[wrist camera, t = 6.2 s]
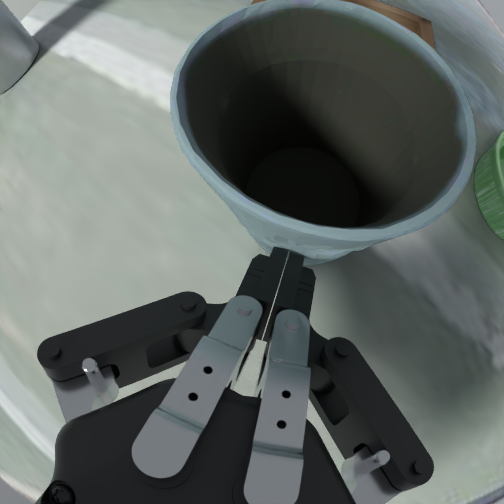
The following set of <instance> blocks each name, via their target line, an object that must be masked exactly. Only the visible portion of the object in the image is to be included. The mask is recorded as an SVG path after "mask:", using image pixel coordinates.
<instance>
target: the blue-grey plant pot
mask: <svg viewBox="0 0 504 504" xmlns="http://www.w3.org/2000/svg"><path fill="white" fill-rule="evenodd" d="M170 105H171V118H172V123H173V127H174V132H175V134H176V137H177V140H178V142H179V145H180V147H181V150H182V152H183V153H184V155H185V156H186V158H187V159H188V161H189V162H190V163H191V165H192V166H193V167H194V168H195V170H196V171H197V172H198V173H199V174H200V176H201V177H202V178H203V179H204V180H205V181H206V182H207V184H208V185H209V186H210V187H211V188H212V189H213V190H214V192H215V193H216V194H217V195H218V196H219V197H220V198H221V199H222V200H223V201H224V202H225V203H226V204H227V206H228V207H229V208H230V209H231V211H232V212H233V213H234V214H235V216H236V217H237V218H238V220H239V221H240V223H241V224H242V225H243V226H244V227H245V228H246V229H247V231H248V232H249V233H250V235H251V236H252V237H253V238H254V239H255V240H256V242H257V243H258V244H259V245H260V246H261V247H262V248H264V249H265V250H266V251H267V252H269V253H270V254H271V252H272V250H273V247H276V248H280V249H283V250H286V251H288V255H287V258H286V262H287V260H288V256H289V253H290V252H293V253H297V254H300V255H303V256H305V258H304V262H303V265H318V264H323V263H328V262H330V261H333V260H336V259H338V258H340V257H343V256H345V255H347V254H348V253H350V252H352V251H359V250H362V249H364V248H366V247H369V246H371V245H374V244H377V243H380V242H383V241H386V240H389V239H392V238H395V237H398V236H401V235H405V234H408V233H411V232H413V231H415V230H418V229H420V228H422V227H424V226H426V225H428V224H430V223H431V222H433V221H435V220H436V219H438V218H439V217H440V216H441V215H443V214H444V213H445V212H446V211H447V210H448V209H449V208H450V207H451V206H452V205H453V204H454V203H455V202H456V200H457V199H458V197H459V196H460V194H461V193H462V191H463V190H464V188H465V187H466V185H467V183H468V181H469V178H470V176H471V173H472V170H473V165H474V160H475V154H476V147H477V143H476V128H475V123H474V118H473V114H472V109H471V107H470V104H469V102H468V99H467V97H466V94H465V92H464V90H463V88H462V86H461V84H460V82H459V81H458V79H457V78H456V76H455V74H454V73H453V71H452V70H451V68H450V67H449V66H448V65H447V64H446V62H445V61H444V60H443V59H442V58H441V57H440V56H439V54H438V53H437V52H436V51H435V50H434V49H433V48H432V47H431V46H430V45H429V44H428V43H426V42H425V41H424V40H423V39H421V38H420V37H419V36H418V35H416V34H415V33H414V32H411V31H410V30H408V29H406V28H405V27H403V26H402V25H400V24H398V23H397V22H395V21H393V20H391V19H390V18H388V17H386V16H384V15H382V14H380V13H378V12H376V11H373V10H371V9H369V8H367V7H364V6H361V5H357V4H354V3H350V2H346V1H340V0H267V1H263V2H259V3H256V4H252V5H249V6H246V7H244V8H241V9H239V10H237V11H234V12H232V13H230V14H228V15H226V16H225V17H223V18H221V19H219V20H218V21H216V22H215V23H214V24H212V25H211V26H210V27H208V28H207V29H206V30H205V31H203V32H202V33H201V34H200V35H199V36H198V37H197V38H196V39H195V40H194V42H193V43H192V44H191V45H190V46H189V48H188V49H187V51H186V52H185V54H184V56H183V57H182V59H181V61H180V63H179V64H178V66H177V68H176V70H175V73H174V78H173V82H172V87H171V92H170Z"/></svg>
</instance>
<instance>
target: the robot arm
mask: <svg viewBox="0 0 504 504" xmlns="http://www.w3.org/2000/svg"><path fill="white" fill-rule="evenodd" d="M38 51H39V44H38V43H37V42H36V41H35V40H34V38H33V37H32V36H31V35H30V34H29V32H28V31H27V30H26V29H25V28H24V26H23V25H22V24H21V23H20V22H19V20H18V19H17V18H16V17H15V16H14V15H13V13H12V12H11V11H10V10H9V9H8V7H7V6H6V5H5V4H4V2H3V1H2V0H0V94H1V93H3V92H4V91H6V90H7V89H9V88H10V87H11V86H12V85H13V84H14V83H16V82H17V81H18V80H19V78H20V77H21V76H22V75H23V74H24V73H25V72H26V71H27V69H28V68H29V67H30V65H31V64H32V62H33V61H34V59H35V58H36V56H37V54H38ZM287 255H288V251H286V250H283V249H280V248H276V247H273V250H272V252H271V255H270V257H268V256H265V255H262V254H259V255H257V256H256V257H255V258H253V259H252V261H251V263H250V265H249V268H248V270H247V272H246V274H245V276H244V279H243V281H242V283H241V285H240V287H239V290H238V292H237V294H236V296H235V297H233V298H232V299H230V300H229V302H227V303H224V304H207V303H206V301H205V299H204V298H203V297H202V296H201V295H199V294H197V293H195V292H189V291H188V292H181V293H178V294H175V295H172V296H169V297H167V298H164V299H161V300H158V301H155V302H152V303H149V304H147V305H144V306H141V307H138V308H135V309H132V310H129V311H126V312H123V313H121V314H118V315H115V316H112V317H109V318H106V319H103V320H100V321H97V322H94V323H91V324H88V325H85V326H82V327H79V328H76V329H74V330H71V331H68V332H65V333H62V334H59V335H56V336H53V337H50V338H47V339H46V340H44V341H43V342H42V343H41V345H40V346H39V348H38V352H37V357H38V360H39V362H40V364H41V365H42V367H43V368H44V370H45V372H46V374H47V376H48V377H49V378H50V380H51V381H52V383H53V385H54V389H55V392H56V395H57V398H58V401H59V404H60V407H61V410H62V413H63V416H64V418H65V421H66V424H65V425H64V426H63V427H62V429H61V430H60V432H59V434H58V436H57V439H56V443H55V469H54V474H53V478H52V481H51V483H50V485H49V486H48V488H47V489H46V490H45V492H44V493H43V494H42V495H41V497H40V498H39V499H38V500H37V502H36V503H35V504H385V503H387V502H388V501H389V500H391V499H392V498H393V497H395V496H396V495H397V494H399V493H401V492H404V491H407V490H409V489H412V488H415V487H417V486H420V485H422V484H424V483H426V482H427V481H428V480H429V479H430V478H431V476H432V474H433V471H434V464H433V460H432V458H431V456H430V455H429V453H428V452H427V450H426V449H425V447H424V446H423V444H422V443H421V441H420V440H419V438H418V437H417V435H416V434H415V432H414V431H413V429H412V428H411V426H410V425H409V423H408V422H407V420H406V419H405V417H404V416H403V414H402V413H401V411H400V410H399V408H398V407H397V406H396V404H395V403H394V401H393V400H392V398H391V397H390V395H389V394H388V392H387V391H386V389H385V388H384V387H383V385H382V384H381V382H380V381H379V379H378V378H377V377H376V375H375V374H374V372H373V371H372V369H371V368H370V367H369V365H368V364H367V362H366V361H365V359H364V358H363V357H362V355H361V354H360V352H359V351H358V350H357V348H356V347H355V345H354V344H353V343H352V342H350V341H349V340H347V339H345V338H341V337H335V338H331V339H330V340H327V339H326V338H324V337H322V336H320V335H319V334H318V333H316V332H315V331H314V329H313V328H312V327H311V325H310V321H309V316H310V311H311V305H312V299H313V293H314V286H315V280H316V277H315V274H314V272H313V270H312V269H309V268H306V267H303V262H304V258H305V256H303V255H300V254H297V253H293V252H290V253H289V256H288V260H287V263H286V266H285V270H284V273H283V276H282V280H281V283H280V286H279V289H278V293H277V296H276V299H275V303H274V306H273V309H272V312H271V316H270V319H269V322H268V325H267V329H266V332H265V335H264V338H263V341H266V342H267V344H266V348H265V351H264V354H263V356H262V361H261V365H260V370H259V375H258V379H257V384H256V388H255V393H254V396H253V397H250V396H242V395H240V394H238V393H237V392H235V391H234V388H235V386H236V384H237V381H238V379H239V377H240V375H241V373H242V371H243V368H244V366H245V364H246V362H247V360H248V358H249V355H250V353H251V350H252V349H253V348H254V345H255V342H256V339H259V340H261V339H262V336H263V333H264V330H265V327H266V323H267V320H268V317H269V314H270V311H271V308H272V304H273V301H274V298H275V295H276V291H277V288H278V285H279V282H280V278H281V275H282V272H283V268H284V265H285V261H286V258H287ZM187 360H188V361H187ZM185 361H187V362H186V364H185V366H184V367H183V369H182V371H181V372H180V374H179V376H178V377H177V378H173V379H168V380H164V381H161V382H158V383H156V384H154V385H152V386H150V387H147V388H145V389H143V390H141V391H139V392H136V393H134V394H132V395H130V396H127V397H125V398H123V399H120V400H118V401H116V402H113V401H114V400H115V399H116V398H117V396H118V393H119V388H122V387H124V386H127V385H129V384H132V383H135V382H137V381H140V380H142V379H145V378H147V377H149V376H152V375H154V374H157V373H159V372H162V371H164V370H166V369H169V368H171V367H173V366H176V365H178V364H180V363H183V362H185ZM308 397H309V399H310V401H311V403H312V404H313V406H314V408H315V409H316V411H317V413H318V415H319V416H320V418H321V420H322V421H323V423H324V425H325V427H326V428H327V430H328V432H329V433H330V435H331V437H332V438H333V440H334V442H335V444H336V445H337V447H338V449H339V450H340V452H341V454H342V455H343V457H344V459H345V461H344V462H343V464H342V467H341V474H342V476H341V474H340V473H339V471H338V469H337V467H336V465H335V463H334V461H333V460H332V458H331V456H330V454H329V452H328V450H327V448H326V446H325V444H324V443H323V441H322V439H321V437H320V435H319V433H318V431H317V430H316V428H315V427H314V426H313V425H312V424H311V422H310V421H308V420H307V419H306V415H307V406H308ZM112 402H113V403H112ZM110 403H111V404H110ZM108 404H109V405H108ZM342 477H343V478H342Z"/></svg>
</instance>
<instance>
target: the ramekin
mask: <svg viewBox="0 0 504 504" xmlns="http://www.w3.org/2000/svg"><path fill="white" fill-rule="evenodd" d="M474 189H475V195H476V199H477V202H478V205H479V208H480V210H481V212H482V215H483V217H484V218H485V220H486V222H487V223H488V225H489V227H490V228H491V229H492V230H493V232H494V233H495V234H497V235H498V236H499V237H500V238H501V239H503V240H504V131H502V132H501V133H500V135H499V136H498V137H497V139H496V141H495V143H494V144H493V145H492V146H491V147H490V148H489V149H488V150H487V151H486V152H485V153H484V154H483V155H482V156H481V158H480V159H479V161H478V163H477V165H476V168H475V171H474Z"/></svg>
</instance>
